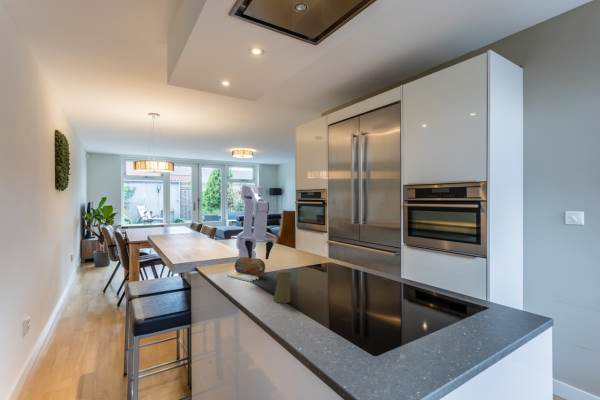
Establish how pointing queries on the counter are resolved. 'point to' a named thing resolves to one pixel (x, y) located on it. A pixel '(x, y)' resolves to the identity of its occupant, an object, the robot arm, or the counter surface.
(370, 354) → the counter surface
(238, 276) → the label board
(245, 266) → the tin
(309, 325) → the counter surface
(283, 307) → the counter surface
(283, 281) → the olive green tapered cylinder
